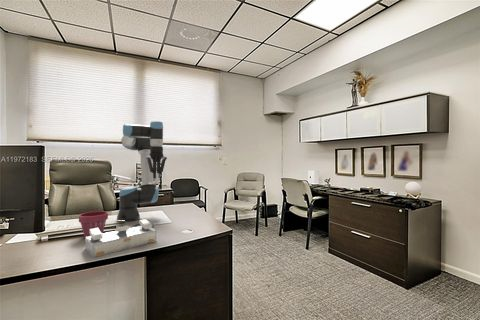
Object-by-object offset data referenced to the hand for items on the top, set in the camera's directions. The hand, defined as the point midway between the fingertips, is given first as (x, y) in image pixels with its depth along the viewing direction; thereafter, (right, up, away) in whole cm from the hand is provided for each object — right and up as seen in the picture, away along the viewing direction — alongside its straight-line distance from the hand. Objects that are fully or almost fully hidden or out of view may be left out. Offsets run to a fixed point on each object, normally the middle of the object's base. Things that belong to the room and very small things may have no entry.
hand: (156, 183), depth 148 cm
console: (-8, -29, -26) cm, 40 cm away
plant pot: (-32, -29, -12) cm, 45 cm away
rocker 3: (0, -21, -18) cm, 28 cm away
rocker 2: (-8, -21, -27) cm, 35 cm away
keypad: (-10, -30, -1) cm, 31 cm away
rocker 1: (-17, -21, -35) cm, 44 cm away
